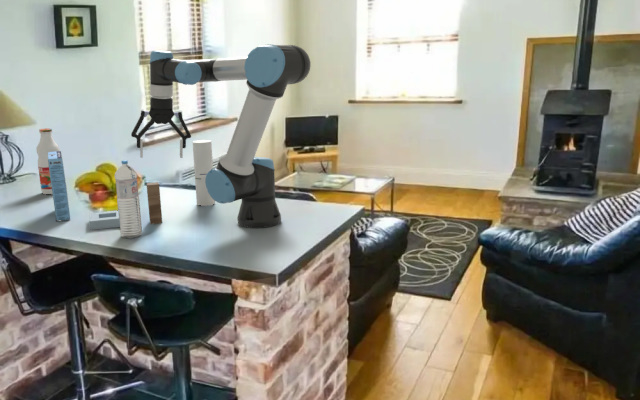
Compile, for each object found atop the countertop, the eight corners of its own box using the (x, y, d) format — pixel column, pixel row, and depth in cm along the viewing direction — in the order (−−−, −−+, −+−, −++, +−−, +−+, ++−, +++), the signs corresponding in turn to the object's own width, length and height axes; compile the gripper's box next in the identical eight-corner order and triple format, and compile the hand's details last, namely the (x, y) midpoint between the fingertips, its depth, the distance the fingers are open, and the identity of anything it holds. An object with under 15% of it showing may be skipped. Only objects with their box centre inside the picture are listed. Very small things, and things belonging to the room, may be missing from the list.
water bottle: (130, 239, 194) (123, 163, 188) (116, 236, 197) (108, 161, 192) (146, 234, 200) (140, 159, 194) (132, 231, 203) (125, 158, 197)
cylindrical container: (213, 206, 236) (209, 142, 230) (195, 206, 236) (190, 142, 230) (216, 201, 243) (212, 139, 237) (199, 201, 243) (194, 140, 237)
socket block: (126, 225, 210) (125, 217, 209) (90, 229, 206) (89, 221, 205) (125, 217, 221) (124, 209, 220) (90, 221, 217) (89, 213, 216)
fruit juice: (69, 191, 266) (61, 128, 259) (48, 195, 259) (40, 130, 252) (58, 189, 272) (50, 127, 265) (37, 193, 264) (29, 129, 258)
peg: (162, 222, 213) (159, 184, 210) (150, 224, 212) (147, 185, 208) (161, 220, 217) (158, 182, 213) (149, 221, 215) (146, 183, 212)
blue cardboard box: (70, 220, 219) (62, 158, 214) (55, 222, 217) (47, 159, 212) (69, 208, 236) (62, 150, 231) (55, 210, 234) (47, 151, 229)
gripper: (197, 96, 214) (196, 154, 221) (123, 93, 207) (124, 153, 213) (199, 99, 208) (198, 159, 214) (123, 97, 200) (124, 159, 207)
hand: (161, 156), depth 214 cm, fingers open, 13 cm apart
